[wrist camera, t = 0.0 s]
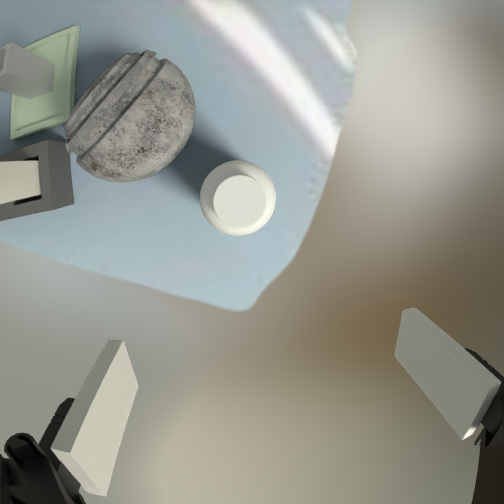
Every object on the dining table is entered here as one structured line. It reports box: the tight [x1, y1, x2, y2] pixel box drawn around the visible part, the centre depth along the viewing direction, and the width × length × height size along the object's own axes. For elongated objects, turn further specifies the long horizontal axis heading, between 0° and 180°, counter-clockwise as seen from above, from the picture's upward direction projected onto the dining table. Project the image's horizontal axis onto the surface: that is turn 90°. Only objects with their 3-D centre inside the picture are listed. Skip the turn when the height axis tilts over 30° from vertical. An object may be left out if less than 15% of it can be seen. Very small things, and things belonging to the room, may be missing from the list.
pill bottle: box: [200, 160, 276, 236], centre depth 32 cm, size 8×7×14 cm
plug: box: [0, 42, 55, 99], centre depth 24 cm, size 4×4×13 cm
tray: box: [10, 25, 80, 140], centre depth 30 cm, size 16×12×2 cm
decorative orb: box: [64, 50, 195, 182], centre depth 27 cm, size 15×14×15 cm
